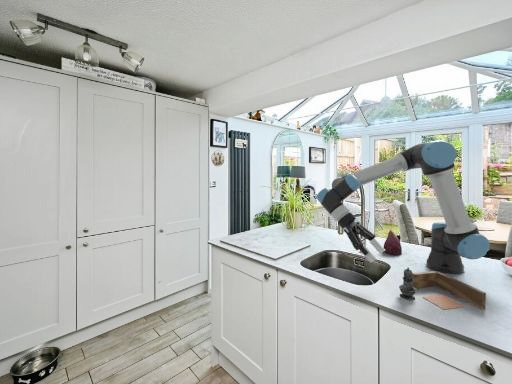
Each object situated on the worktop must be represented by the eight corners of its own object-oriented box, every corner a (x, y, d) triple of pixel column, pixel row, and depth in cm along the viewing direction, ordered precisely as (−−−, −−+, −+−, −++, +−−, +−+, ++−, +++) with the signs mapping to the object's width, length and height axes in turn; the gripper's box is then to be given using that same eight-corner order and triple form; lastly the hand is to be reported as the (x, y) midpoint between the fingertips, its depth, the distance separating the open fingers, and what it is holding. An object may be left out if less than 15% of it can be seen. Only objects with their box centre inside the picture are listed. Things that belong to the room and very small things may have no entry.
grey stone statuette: (400, 291, 102) (401, 263, 101) (417, 296, 99) (418, 266, 98) (397, 297, 98) (398, 267, 97) (415, 302, 94) (416, 271, 93)
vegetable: (381, 255, 156) (376, 231, 159) (399, 253, 154) (393, 229, 157) (387, 256, 146) (381, 230, 148) (406, 254, 144) (400, 228, 147)
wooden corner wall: (436, 284, 108) (436, 270, 108) (485, 309, 89) (486, 292, 88) (411, 286, 106) (411, 273, 106) (456, 312, 87) (457, 296, 86)
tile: (442, 294, 99) (442, 294, 99) (465, 306, 90) (465, 306, 90) (422, 297, 98) (422, 296, 98) (443, 309, 89) (443, 308, 89)
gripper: (347, 217, 124) (379, 253, 116) (325, 226, 106) (361, 270, 97) (358, 208, 121) (392, 244, 112) (338, 215, 102) (376, 259, 93)
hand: (378, 256), depth 104 cm, fingers open, 13 cm apart
